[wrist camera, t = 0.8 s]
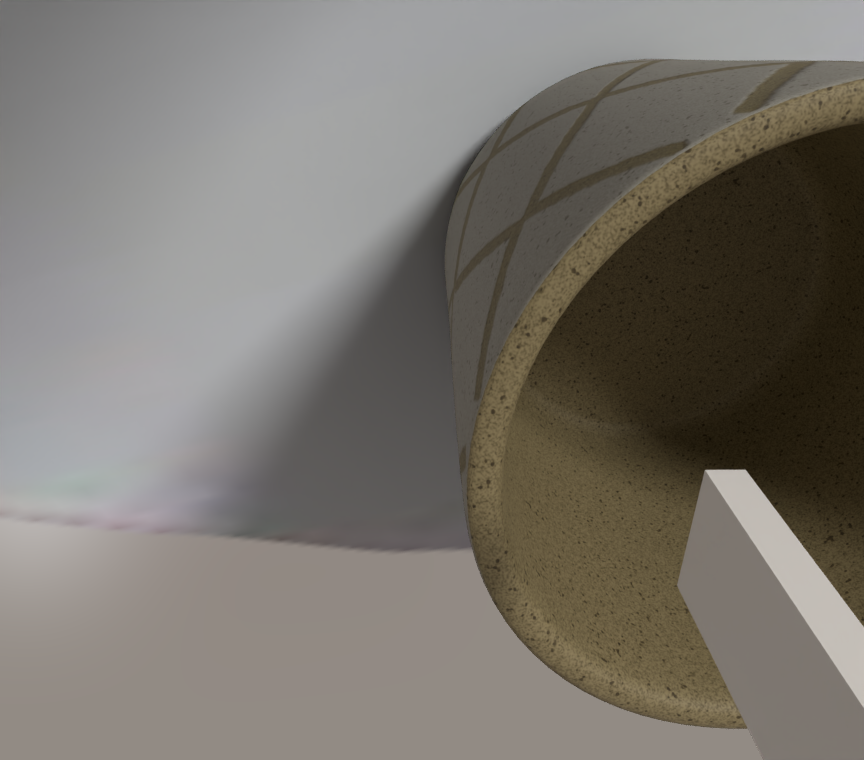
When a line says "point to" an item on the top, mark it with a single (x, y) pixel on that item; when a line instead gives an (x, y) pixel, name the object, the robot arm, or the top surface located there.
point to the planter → (657, 352)
